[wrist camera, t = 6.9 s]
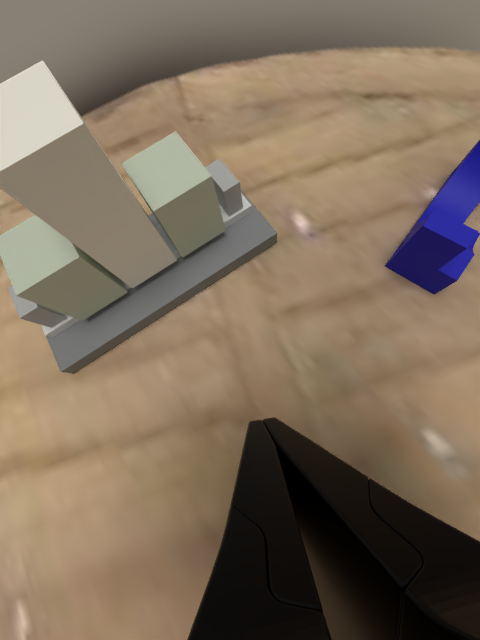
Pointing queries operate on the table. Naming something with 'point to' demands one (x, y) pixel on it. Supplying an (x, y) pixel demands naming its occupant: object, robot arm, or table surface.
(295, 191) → the table surface
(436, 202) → the blue cradle stand
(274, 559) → the robot arm
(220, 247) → the rail board
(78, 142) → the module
